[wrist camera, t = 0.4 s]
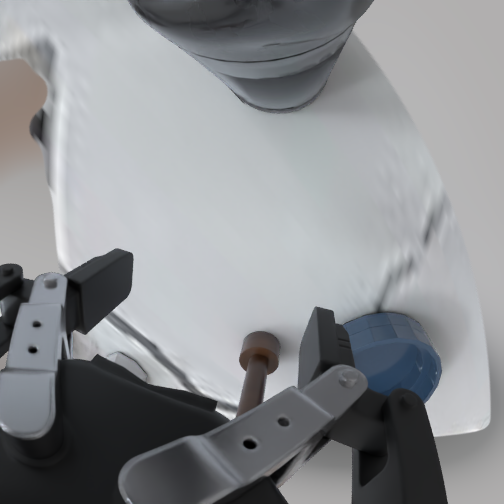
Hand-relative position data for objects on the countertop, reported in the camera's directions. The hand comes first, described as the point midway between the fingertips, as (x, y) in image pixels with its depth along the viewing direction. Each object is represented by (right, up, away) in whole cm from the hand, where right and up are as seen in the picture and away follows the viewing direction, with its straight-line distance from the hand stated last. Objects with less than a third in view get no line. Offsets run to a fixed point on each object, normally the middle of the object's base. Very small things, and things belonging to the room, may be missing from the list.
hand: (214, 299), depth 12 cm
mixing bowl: (+16, -12, +21) cm, 29 cm away
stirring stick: (+3, -9, +22) cm, 24 cm away
